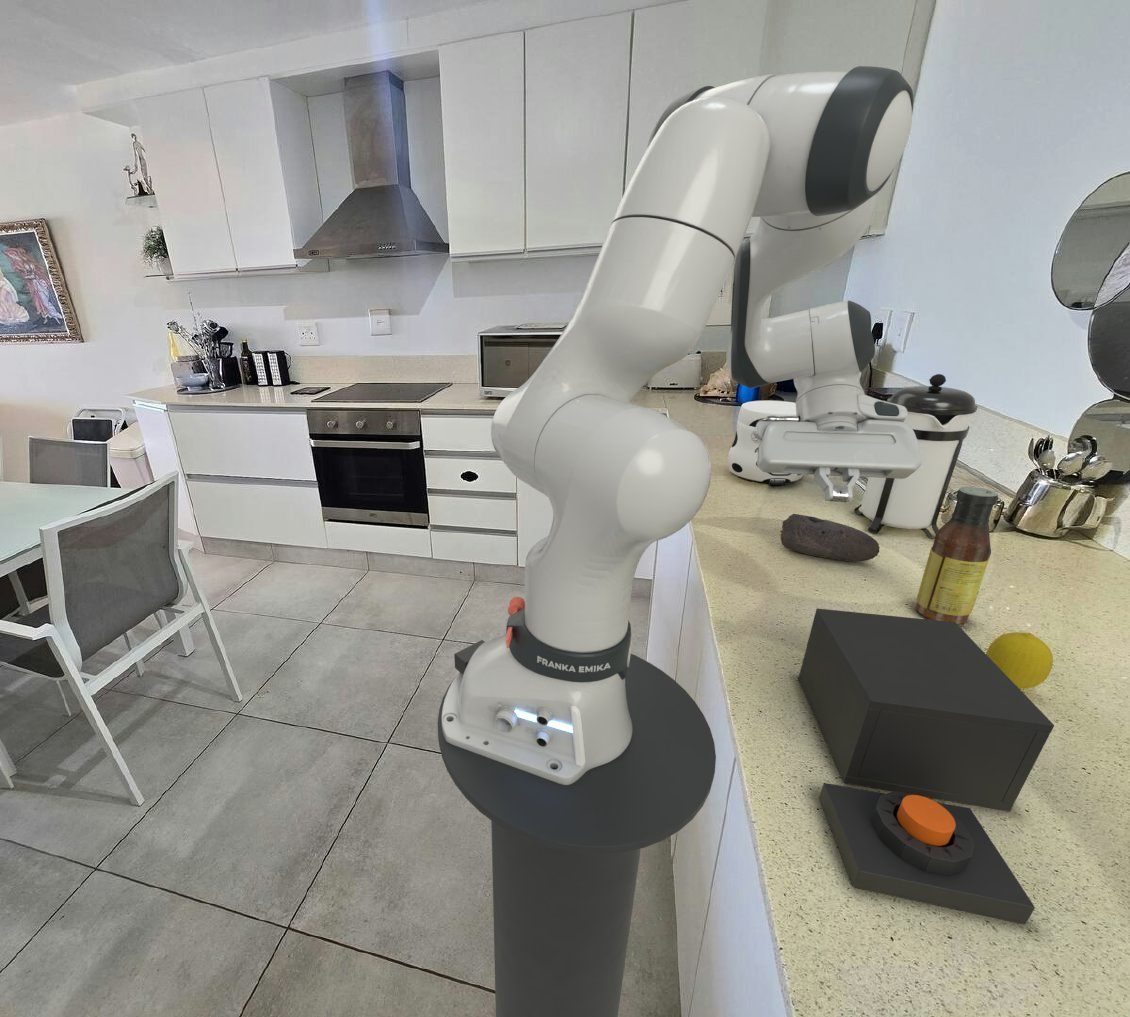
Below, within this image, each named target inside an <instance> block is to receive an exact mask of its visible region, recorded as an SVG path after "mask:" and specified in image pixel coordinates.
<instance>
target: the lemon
mask: <svg viewBox="0 0 1130 1017" xmlns="http://www.w3.org/2000/svg"><path fill="white" fill-rule="evenodd" d="M985 654H986V655H987V656H988V657H989V658H990V659H991V660H992V661H993V662H994V663H995V664H996V665H997V666H998V667H999V668H1000V669H1001V670H1002V671H1003V672H1004V674H1005V675H1006V676H1007V677H1008V678H1009V679H1010V680H1011V681H1012V682H1013V683H1014V684H1015V685H1016V686H1017V687H1018V688H1019V689H1020V690H1027V689H1033V688H1035V687H1037V686H1039V685H1041V684H1043V683H1044V682H1045V681H1046V680H1047V679H1048V678H1049V676H1050V674H1051V671H1052V669H1053V664H1054V656H1053V653H1052V650H1051V648H1050V647H1049V646H1048V645H1047V643H1046V642H1044V641H1043V640H1042V639H1041V638H1039V637H1037V636H1035V635H1034V633H1031V632H1022V631H1021V632H1019V631H1016V632H1013V631H1012V632H1008V633H1003V634H1001V635H1000V636H998V637H996V638H995V639H994V640H993V641H992V642H991V644H989V646H988V647H987V650H986V652H985Z"/></svg>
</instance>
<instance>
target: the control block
mask: <svg viewBox="0 0 1130 1017" xmlns="http://www.w3.org/2000/svg"><path fill="white" fill-rule="evenodd" d="M908 795H915V794H910V793H904V792H898V791H889V792H888V793H886V792H880V791H874V790H868V789H863V788H862V789H861V788H856V787H851V786H845V785H839V784H833V783H828V782H823V785H822V787H821V790H820V794H819V797H818V799H819V802H820V804H821V807H822V809H823V813H824V815H825V818H826V820H827V823H828V825H829V828H830V830H831V833H832V835H833V838H834V841H835V843H836V846H837V849H838V851H839V854H840V857H841V859H842V862H843V865H844V867H845V870H846V872H847V874H848V877H849V880H850V882H851V885H852V887H853V888H855V889H860V890H863V891H867V892H873V893H876V894H877V893H878V894H883V895H887V896H891V897H895V898H896V897H897V898H901V899H904V900H905V899H906V900H911V901H914V902H919V903H924V904H929V905H933V906H938V907H942V908H947V909H952V910H956V911H961V912H966V913H970V914H976V915H980V916H985V917H990V918H993V919H999V920H1002V921H1007V922H1011V923H1018V924H1022V925H1026V924H1027V922H1028V921H1029V919H1030V917H1031V915H1032V914H1033V912H1034V911H1035V909H1036V906H1035V905H1034V904H1033V901H1032V900H1031V899H1030V897H1029V896H1028V894H1027V892H1026V891H1025V890H1024V888H1023V887H1022V885H1021V883H1020V882H1019V881H1018V879H1017V877H1016V876H1015V875H1014V873H1013V871H1012V869H1010V867H1009V865H1008V864H1007V862H1006V861H1005V859H1004V857H1003V856H1002V855H1001V853H1000V852H999V851H998V848H997V847H996V846H995V844H994V843H993V841H992V839H991V838H990V837H989V835H988V833H987V832H986V830H985V829H984V827H983V826H982V825H981V823H980V821H979V820H978V819H977V817H976V815H975V814H974V812H973V811H972V809H971V807H966V806H960V805H954V804H948V803H943V802H937V803H938V804H940V805H941V806H943V807H944V808H945V809H946V810H947V811H948V812H949V813H950V814H951V815H952V817H953V818H954V820H955V824H956V827H955V829H954V832H953V834H952V836H951V838H950V840H949V842H948V843H947V844H946V845H943V846H934V845H929V844H926V843H924V842H921V841H919V840H917V839H916V838H914V837H913V836H911V835H910V834H909V833H907V832H906V831H905V830H904V829H903V828H902V826H901V825H900V824H899V822H898V819H897V812H898V810H899V807H900V805H901V802H902V800H903V798H904V797H906V796H908Z"/></svg>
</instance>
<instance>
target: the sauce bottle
mask: <svg viewBox="0 0 1130 1017" xmlns="http://www.w3.org/2000/svg"><path fill="white" fill-rule="evenodd" d="M955 498H956V502H955V506H954V509H953V512H952V513H951V518H950V519H949V520H948V521H947V522H945V523H944V524H943V525H942V526H941V527H940V528H938V529H939V530H938V531H937V533H936V535H934V536H935V538H934V539H933V542H932V543H933V544H932V546H931V547H930V549H929V550H930V551H929V554H928V558H927V561H926V565H925V567H924V571H923V575H922V578H921V581H920V586H919V588H918V592H917V596H916V604H915V610H916V611H917V612H918V613H919V614H920V615H921V616H923V617H925V619H928V620H938V621H948V622H955V623H956V624H957V625H958V626H960V625H963V624H966V623H967V622H968V620H969V618H970V614H972V613H973V610H974V607H975V604H976V601H977V598H978V595H979V592H980V589H981V586H982V582H983V580H984V576H985V574H986V572H987V567H988V565H989V561H990V559H991V558H990V557H991V555H992V549H991V548H992V547H991V536H990V526H989V522H990V517H991V514H992V511H993V507H994V506H995V505H996V504H997V502H998V498H999V494H998V492H996V491H994V490H992V489H988V488H985V487H979V486H961V487H959V489H957V492H956V497H955Z"/></svg>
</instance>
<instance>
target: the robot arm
mask: <svg viewBox="0 0 1130 1017" xmlns="http://www.w3.org/2000/svg"><path fill="white" fill-rule="evenodd" d="M913 112H914V91H913V89H912V86H911V85H910V84H909V83H908V81H907V80H906V79H905V77H904V76H903V75H902V74H901V73H900V71H898V70H896V69H892V68H887V67H883V66H882V67H881V66H871V65H870V66H869V65H858V66H856V67H853V68H852V69H850V70H849V71H845V70H844V71H843V70H832V71H831V70H825V71H807V72H806V71H805V72H793V73H785V74H783V73H780V72H774V73H770V74H765V75H764V74H763V75H758V76H753V77H750V78H746V79H745V78H744V79H740V80H737V81H733V82H730V83H726V84H723V85H719V86H716V87H715V86H712V85H706V86H702V87H699V88H696V89H694V90H691V91H689V92H687V93H685V94H683V95H680V96H679V97H677V98H676V99H675V100H673V101H672V102H670V104H669V105H668V106H667V107H666V108H665V110H664V111H663V112H662V114H661V115H660V117H659V118H658V119H657V122H656V123H655V124H654V127H653V128H652V131H651V132H650V133H651V134H650V135H649V136H650V137H649V140H648V142H647V146H646V150H645V152H644V153H643V155H642V157H641V159H640V161H639V162H638V165H637V166H636V168H635V171H634V172H633V174H632V176H631V178H630V180H629V182H628V183H627V186H626V188H625V191H624V192H623V195H622V197H621V199H620V201H619V204H618V206H617V208H616V211H615V213H614V215H613V218H612V220H611V223H610V226H609V229H608V230H607V233H606V235H605V238H604V241H603V243H602V246H601V248H600V250H599V253H598V256H597V258H596V261H595V263H594V266H593V268H592V271H591V273H590V275H589V278H588V280H587V283H586V285H585V287H584V290H583V292H582V295H581V297H580V300H579V302H578V304H577V306H576V308H575V310H574V312H573V314H572V316H571V318H570V319H569V321H568V323H567V325H566V326H565V328H564V330H563V331H562V333H561V334H560V336H559V337H558V339H557V341H556V342H555V343H554V344H553V346H552V347H551V349H550V350H549V352H548V353H547V355H546V356H545V357H544V359H543V360H542V362H541V363H540V364H539V365H538V367H537V368H536V369H535V371H534V372H533V374H532V375H530V376H529V378H528V379H527V380H526V381H525V382H524V383H522V385H520V386H518V387H517V388H516V389H514V390H513V391H511V392H510V393H509V394H508V395H506V396H505V397H504V398H503V399H502V401H501V402H500V404H498V406H497V408H496V410H495V411H494V415H493V418H492V420H491V421H492V422H491V426H490V438H491V443H492V447H493V449H494V450H495V453H496V454H497V456H498V457H499V459H500V460H501V461H502V463H503V464H504V465H505V466H506V468H508V470H509V471H510V472H511V473H512V475H513V476H515V477H516V478H517V479H518V480H520V481H521V482H523V483H525V484H526V485H528V486H530V487H532V488H533V489H535V490H536V491H538V492H539V493H541V494H542V495H544V496H546V497H547V498H548V500H549V502H550V505H551V508H552V522H551V527H550V530H549V533H548V535H547V536H545V537H543V538H542V539H540V540H539V541H537V542H536V543H535V544H534V545H533V546H532V547H531V548H530V549H529V551H528V553H527V554H526V557H525V561H524V598H523V597H521V596H514V597H512V599H510V601H509V606H508V607H507V614H508V615H509V617H508V619H507V621H506V629H505V630H506V632H505V633H503V634H500V635H499V636H496V637H494V638H491V639H489V640H487V641H484V640H483V639H481V640H478V641H477V642H475V643H473V644H471V645H468V646H467V647H465V648H463V649H461V650H459V651H457V652H455V653H453V656H454V668H455V670H456V671H458V672H459V673H458V674H457V675H456V676H455V677H454V678H455V679H454V678H453V680H452V681H453V682H452V681H451V683H452V684H451V683H450V684H451V686H450V688H449V690H448V692H447V695H446V697H445V701H444V704H443V709H442V718H441V727H442V732H443V735H444V738H445V740H446V741H447V742H448V743H450V744H452V745H455V746H457V747H460V748H463V749H466V750H468V751H471V752H474V753H477V754H479V755H482V756H485V757H488V758H490V759H493V760H496V761H498V762H501V763H504V764H507V765H509V766H512V767H515V768H518V769H520V770H523V771H526V772H529V773H531V774H534V775H537V776H540V777H542V778H545V779H548V780H551V781H553V782H556V783H559V784H562V785H570V784H572V783H574V782H576V781H577V780H578V779H579V778H580V777H581V776H582V775H583V774H584V773H585V772H586V771H588V770H590V769H592V768H595V767H598V766H601V765H604V764H606V763H608V762H610V761H612V760H614V759H616V758H617V757H618V756H620V755H621V754H622V753H623V752H624V751H625V749H626V748H627V747H628V745H629V743H630V741H631V737H632V731H633V727H632V721H631V717H630V714H629V710H628V705H627V698H626V686H625V677H626V674H627V669H628V668H629V663H630V655H631V654H632V644H633V635H632V626H631V622H630V620H629V616H630V608H631V601H632V594H633V587H634V582H635V581H634V580H635V576H636V571H637V568H638V566H639V563H640V560H641V559H642V557H643V555H644V553H645V552H646V550H647V549H648V548H649V547H650V546H651V545H652V544H653V543H655V542H658V541H661V540H664V539H666V538H668V537H670V536H673V535H674V534H676V533H677V532H679V531H681V530H682V529H683V528H684V527H685V526H687V525H688V524H689V523H690V522H691V521H692V520H693V519H694V517H695V516H696V515H697V514H698V512H699V511H700V509H701V508H702V507H703V504H704V503H705V500H706V499H707V495H708V493H709V490H710V485H711V479H712V478H711V477H712V465H711V459H710V454H709V451H708V448H707V447H706V444H705V443H704V441H703V440H702V439H701V438H700V437H699V436H698V435H697V434H695V433H694V432H692V431H691V430H690V429H688V428H687V427H684V426H683V425H682V424H680V423H678V422H677V421H675V420H673V419H672V418H670V417H668V416H666V415H664V414H663V413H661V412H660V411H658V410H655V409H654V408H653V409H652V408H649V407H645V406H642V405H638V404H634V403H631V402H632V401H633V400H634V398H635V397H636V395H637V394H639V392H640V391H641V389H642V388H643V387H644V386H645V385H646V384H647V383H648V382H649V381H650V380H651V379H652V378H653V377H654V376H656V375H657V374H658V373H659V372H661V371H662V370H664V369H666V368H668V367H670V366H672V365H675V364H676V363H678V362H680V361H682V360H683V359H684V358H686V357H687V356H688V355H690V353H691V352H692V351H693V350H694V349H695V347H696V346H697V345H698V343H699V341H700V339H701V337H702V335H703V333H704V330H705V328H706V326H707V324H708V321H709V319H710V316H711V315H712V312H713V310H714V307H715V305H716V303H717V301H718V298H719V296H720V294H721V292H722V289H723V287H724V285H725V282H726V281H727V278H728V276H729V274H730V272H731V270H732V267H733V265H734V268H733V279H732V280H733V281H732V287H731V288H732V291H731V310H730V312H731V313H730V336H729V338H728V341H727V346H726V352H725V361H726V368H727V371H728V374H729V375H730V377H731V379H732V380H733V381H734V382H736V383H738V384H740V385H741V386H743V387H745V388H748V389H756V388H760V387H764V386H768V385H771V384H773V383H777V382H783V381H789V380H793V385H794V388H795V389H796V392H797V396H796V399H795V403H796V416H780V417H779V416H767V417H766V418H764V419H761V420H759V421H758V423H757V424H756V435H757V437H758V439H759V440H760V443H759V448H758V457H757V466H758V467H759V468H760V470H761V471H762V472H767V473H789V474H804V475H813V481H814V482H815V483H816V484H817V486H818V487H819V488H820V489H821V491H823V495H824V496H823V497H824V501H825V502H840V503H841V502H842V503H849V502H851V501H852V500H853V496H854V494H853V487H854V486H855V484H856V483H857V481H858V480H859V478H869V477H877V478H898V479H904V478H907V477H908V476H910V475H911V474H913V473H914V472H915V471H916V470H917V469H918V468H919V467H920V465H921V454H920V449H919V445H918V441H917V438H916V435H915V433H914V431H913V429H912V428H911V427H910V426H909V425H908V424H906V423H904V420H905V419H906V418H907V416H908V412H907V409H906V408H905V407H904V406H901V405H898V404H893V403H889V402H887V400H881V399H878V398H875V397H873V396H870V395H867V394H865V391H864V389H863V387H862V385H861V383H860V382H861V377H862V372H863V371H864V370H865V369H866V368H867V367H868V365H869V364H870V363H871V362H872V361H873V360H874V357H875V354H876V344H875V340H874V336H873V332H872V314H871V312H870V311H869V310H868V309H866V308H865V307H864V306H863V305H861V304H859V303H857V302H855V301H852V300H844V301H843V300H842V301H837V302H832V303H827V304H824V305H820V306H815V307H811V308H809V309H805V310H800V311H795V312H791V313H787V314H783V315H779V316H775V317H774V316H773V317H769V318H768V317H767V318H763V317H764V316H763V315H764V306H765V303H766V302H767V300H768V299H769V298H770V297H771V296H772V295H774V294H775V293H777V292H778V291H779V290H781V289H783V288H785V287H787V286H788V285H790V284H792V283H793V282H796V281H798V280H799V279H800V280H801V279H802V278H804V277H806V276H809V275H811V274H813V273H815V272H817V271H820V270H822V269H824V268H826V267H827V266H829V265H831V264H832V263H835V262H836V261H837V260H839V259H840V258H841V257H843V256H844V255H845V254H846V253H848V252H849V251H850V250H851V249H852V248H853V247H854V246H855V245H856V244H857V243H858V242H859V241H860V240H861V238H862V237H863V236H864V234H865V233H866V231H868V228H869V226H870V225H871V222H872V220H873V217H874V214H875V209H876V207H877V206H876V205H877V199H878V194H879V192H880V191H881V190H882V189H883V188H884V187H885V185H886V183H887V182H888V181H889V179H890V177H891V175H892V174H893V172H894V171H895V168H896V166H897V165H898V163H899V162H900V160H901V158H902V156H903V154H904V151H905V149H906V146H907V144H908V141H909V137H910V134H911V128H912V124H913V123H912V121H913ZM752 217H754V218H759V221H758V223H757V226H756V228H755V230H754V232H753V233H752V235H751V236H750V237H749V238H747V240H745V241H744V238H745V236H746V233H747V230H748V228H749V225H750V222H751V220H752ZM743 241H744V242H743ZM829 476H835V477H839V476H840V477H841V479H842V482H844V483H845V484H844V486H837V485H834V484H833V482H832V481H831V480H830V478H829ZM449 721H451V722H449ZM551 768H556V770H553V769H551Z"/></svg>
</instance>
